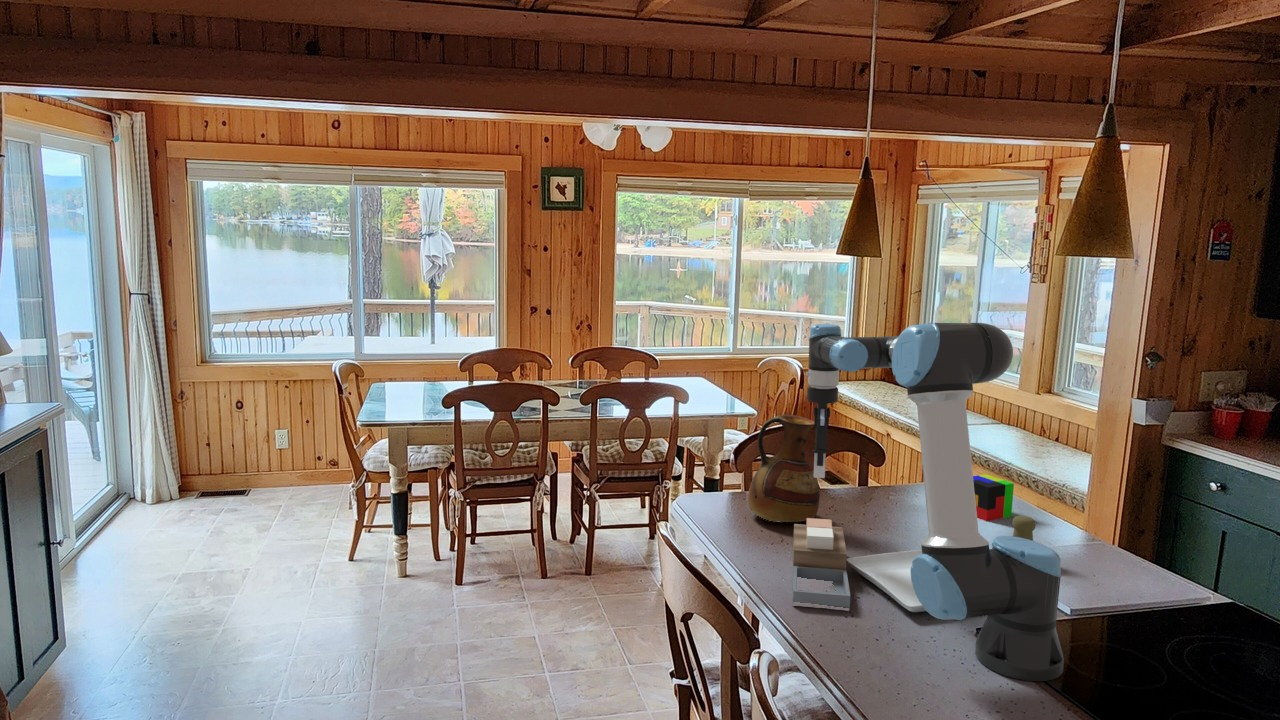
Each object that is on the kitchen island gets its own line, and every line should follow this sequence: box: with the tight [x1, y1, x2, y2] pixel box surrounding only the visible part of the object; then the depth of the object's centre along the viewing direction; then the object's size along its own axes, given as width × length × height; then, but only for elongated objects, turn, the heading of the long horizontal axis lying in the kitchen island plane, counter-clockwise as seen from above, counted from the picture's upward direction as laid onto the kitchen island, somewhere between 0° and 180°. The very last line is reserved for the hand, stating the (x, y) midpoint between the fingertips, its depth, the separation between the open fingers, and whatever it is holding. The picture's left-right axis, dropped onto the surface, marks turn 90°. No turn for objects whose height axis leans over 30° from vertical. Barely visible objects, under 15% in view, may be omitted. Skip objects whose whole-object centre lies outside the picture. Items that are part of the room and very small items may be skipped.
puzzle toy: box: [973, 473, 1015, 522], centre depth 235 cm, size 10×10×10 cm
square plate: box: [846, 549, 927, 613], centre depth 185 cm, size 27×27×4 cm
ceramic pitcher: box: [747, 413, 821, 523], centre depth 229 cm, size 20×20×30 cm
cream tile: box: [807, 527, 834, 550], centre depth 192 cm, size 6×6×3 cm
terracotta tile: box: [805, 517, 833, 538], centre depth 199 cm, size 6×6×3 cm
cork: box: [1012, 515, 1036, 541], centre depth 201 cm, size 6×6×11 cm
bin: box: [792, 565, 851, 609], centre depth 181 cm, size 14×12×4 cm
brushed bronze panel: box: [792, 523, 848, 571], centre depth 197 cm, size 18×12×7 cm, turn 169°
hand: (819, 476), depth 206 cm, fingers closed
